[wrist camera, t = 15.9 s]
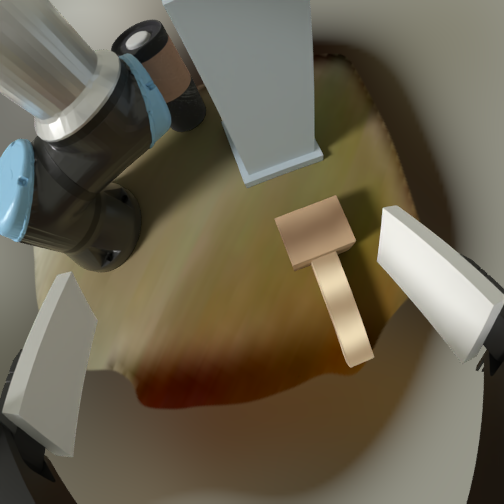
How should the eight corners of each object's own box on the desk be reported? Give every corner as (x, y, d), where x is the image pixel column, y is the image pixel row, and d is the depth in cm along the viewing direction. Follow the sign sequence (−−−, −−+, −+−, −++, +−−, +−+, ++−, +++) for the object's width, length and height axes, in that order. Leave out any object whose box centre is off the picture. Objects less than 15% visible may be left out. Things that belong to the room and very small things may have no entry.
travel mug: (190, 93, 49) (144, 15, 30) (216, 110, 47) (173, 24, 28) (159, 120, 49) (102, 49, 29) (183, 140, 47) (124, 62, 27)
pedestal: (322, 160, 42) (326, -34, 12) (246, 188, 43) (150, 17, 13) (292, 102, 45) (263, -69, 15) (223, 127, 46) (140, -30, 16)
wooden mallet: (383, 345, 36) (396, 352, 30) (329, 367, 37) (332, 378, 31) (332, 210, 41) (335, 195, 35) (279, 230, 42) (274, 218, 36)
